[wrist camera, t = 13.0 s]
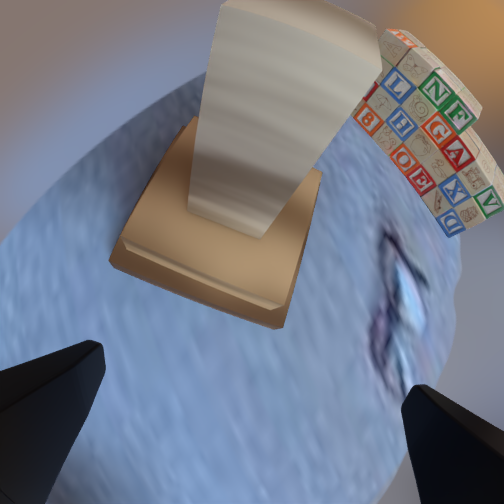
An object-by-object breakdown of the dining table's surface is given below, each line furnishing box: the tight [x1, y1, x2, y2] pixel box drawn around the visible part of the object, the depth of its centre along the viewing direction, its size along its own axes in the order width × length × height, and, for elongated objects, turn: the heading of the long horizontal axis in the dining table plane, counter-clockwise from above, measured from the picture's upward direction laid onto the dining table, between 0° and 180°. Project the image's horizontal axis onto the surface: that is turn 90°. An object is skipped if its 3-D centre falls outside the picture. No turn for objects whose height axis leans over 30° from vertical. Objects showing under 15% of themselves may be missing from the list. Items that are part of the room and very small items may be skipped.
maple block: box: [120, 116, 322, 310], centre depth 19 cm, size 10×10×2 cm
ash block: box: [187, 0, 382, 239], centre depth 12 cm, size 4×4×12 cm
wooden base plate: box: [108, 126, 320, 329], centre depth 21 cm, size 12×12×2 cm
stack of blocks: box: [350, 29, 504, 238], centre depth 25 cm, size 21×6×12 cm, turn 40°
